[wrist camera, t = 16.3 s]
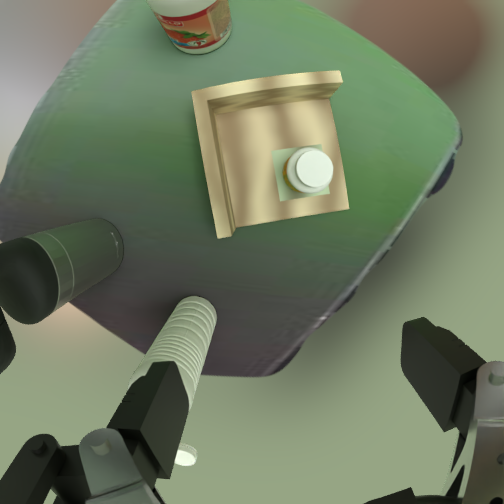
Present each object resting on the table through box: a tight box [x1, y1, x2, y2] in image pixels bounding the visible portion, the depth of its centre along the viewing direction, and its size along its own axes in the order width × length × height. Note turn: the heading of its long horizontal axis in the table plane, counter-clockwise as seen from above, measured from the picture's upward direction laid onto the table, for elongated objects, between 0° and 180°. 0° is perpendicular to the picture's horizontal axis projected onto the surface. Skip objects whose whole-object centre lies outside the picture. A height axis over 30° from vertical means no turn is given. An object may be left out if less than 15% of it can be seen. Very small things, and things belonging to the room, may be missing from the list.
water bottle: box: [128, 296, 217, 466], centre depth 33 cm, size 9×6×25 cm
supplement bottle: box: [282, 147, 333, 194], centre depth 35 cm, size 5×5×10 cm
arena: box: [191, 71, 349, 239], centre depth 36 cm, size 18×18×8 cm
